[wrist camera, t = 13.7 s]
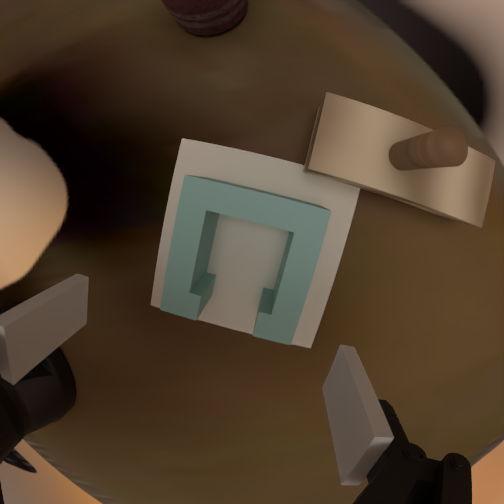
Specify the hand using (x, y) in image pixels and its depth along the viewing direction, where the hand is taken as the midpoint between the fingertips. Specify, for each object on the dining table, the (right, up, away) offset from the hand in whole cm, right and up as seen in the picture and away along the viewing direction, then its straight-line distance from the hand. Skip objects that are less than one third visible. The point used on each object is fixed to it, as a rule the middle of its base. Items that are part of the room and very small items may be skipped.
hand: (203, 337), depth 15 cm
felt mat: (+2, +5, +10) cm, 11 cm away
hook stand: (+13, +11, +7) cm, 18 cm away
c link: (+2, +4, +9) cm, 11 cm away
